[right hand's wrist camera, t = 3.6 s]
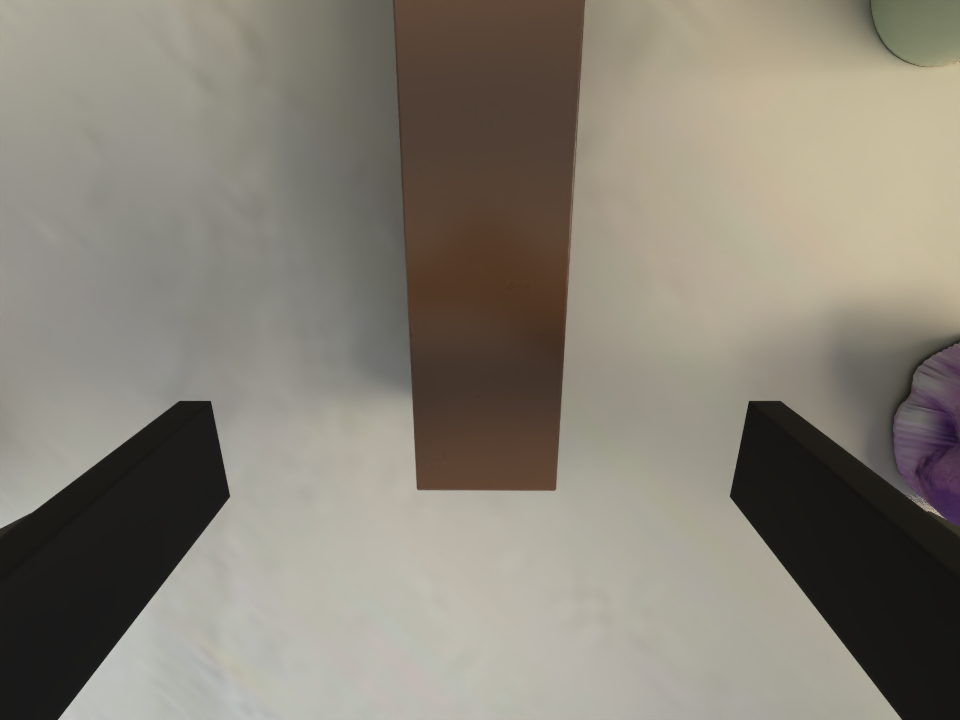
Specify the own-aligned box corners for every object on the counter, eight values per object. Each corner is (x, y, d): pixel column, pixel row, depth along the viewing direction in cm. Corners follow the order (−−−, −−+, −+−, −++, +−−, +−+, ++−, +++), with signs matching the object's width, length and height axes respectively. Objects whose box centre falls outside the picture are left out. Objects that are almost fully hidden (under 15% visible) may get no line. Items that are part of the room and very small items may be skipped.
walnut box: (416, -233, 18) (366, -539, 10) (560, -234, 18) (617, -541, 10) (436, 399, 26) (416, 490, 18) (535, 399, 26) (556, 491, 18)
